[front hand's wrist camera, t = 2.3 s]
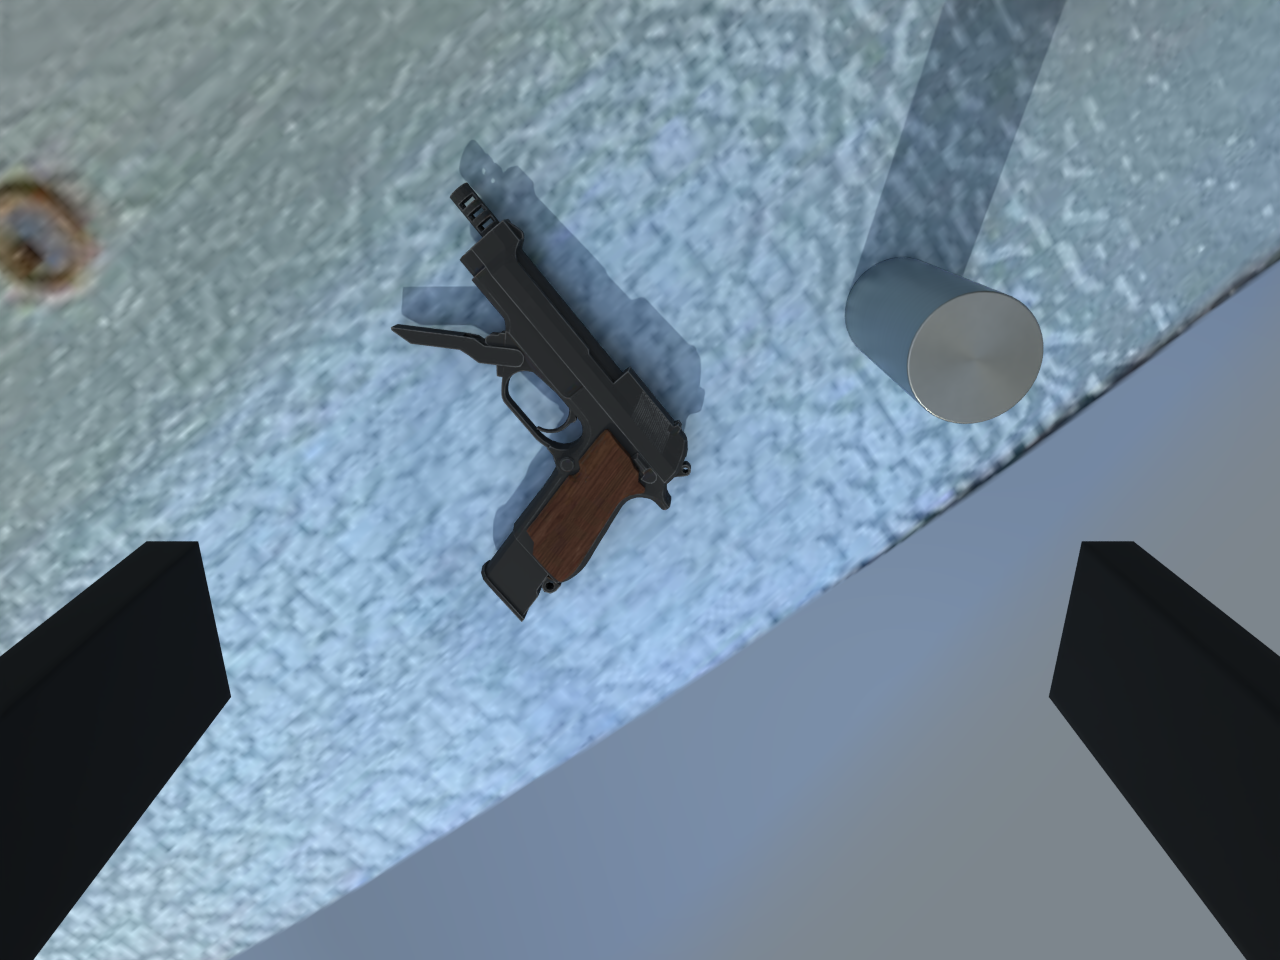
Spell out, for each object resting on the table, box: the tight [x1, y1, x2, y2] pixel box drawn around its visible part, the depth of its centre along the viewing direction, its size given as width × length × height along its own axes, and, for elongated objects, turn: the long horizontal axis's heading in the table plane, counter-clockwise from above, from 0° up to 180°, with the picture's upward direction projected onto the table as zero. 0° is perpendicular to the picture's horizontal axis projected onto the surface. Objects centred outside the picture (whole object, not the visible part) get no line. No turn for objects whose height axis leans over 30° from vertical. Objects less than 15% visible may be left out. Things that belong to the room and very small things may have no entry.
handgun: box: [391, 183, 691, 622], centre depth 47 cm, size 4×21×15 cm
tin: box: [845, 257, 1043, 424], centre depth 41 cm, size 6×6×12 cm
